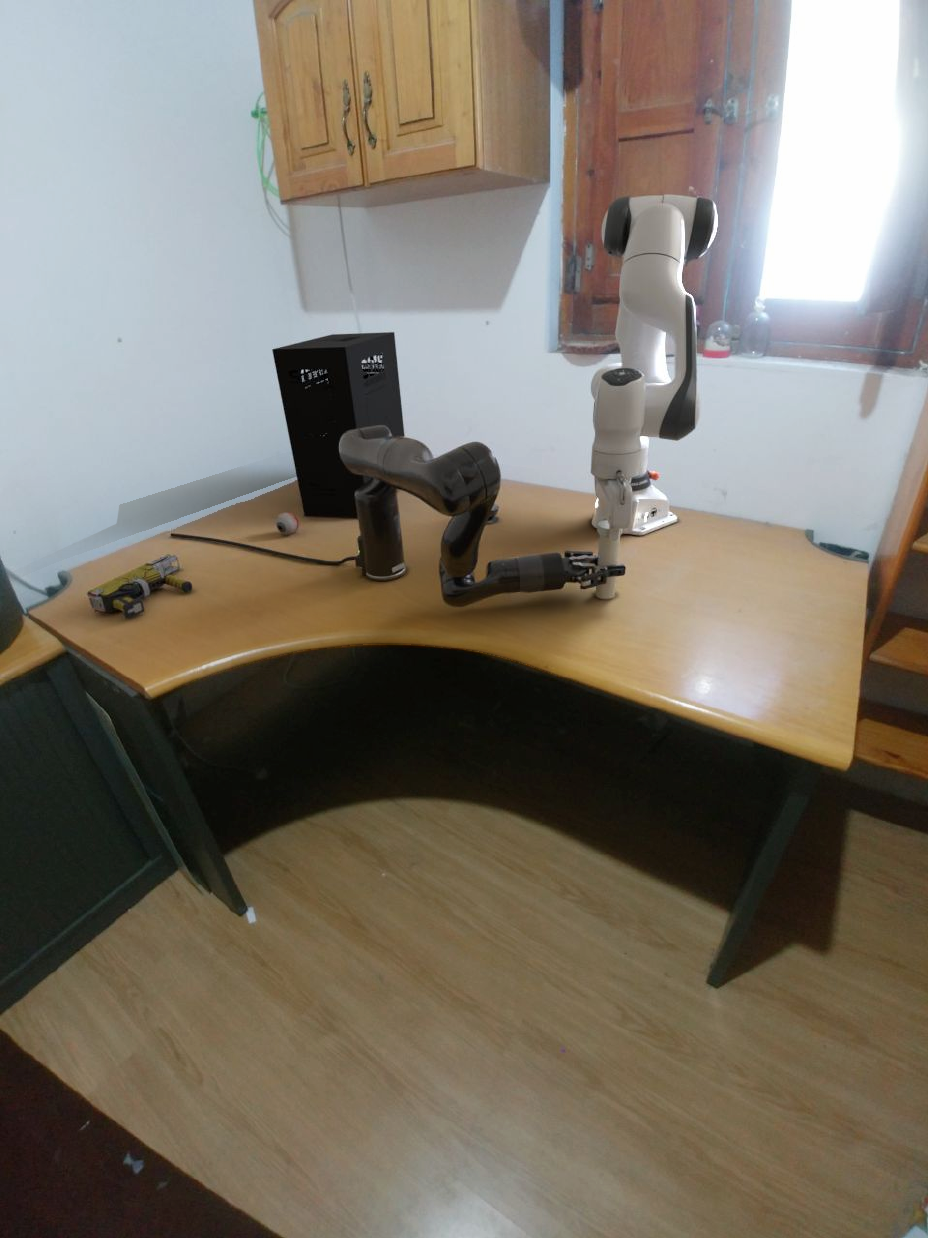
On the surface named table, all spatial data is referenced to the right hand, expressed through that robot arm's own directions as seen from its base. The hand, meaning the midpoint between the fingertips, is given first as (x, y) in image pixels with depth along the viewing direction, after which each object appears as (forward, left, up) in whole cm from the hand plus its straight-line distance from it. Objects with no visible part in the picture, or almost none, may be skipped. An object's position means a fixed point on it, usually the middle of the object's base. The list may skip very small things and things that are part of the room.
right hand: (609, 533), depth 119 cm
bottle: (0, 0, -14) cm, 14 cm away
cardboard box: (+26, -93, -14) cm, 97 cm away
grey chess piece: (+1, -52, -14) cm, 53 cm away
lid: (0, 0, +2) cm, 2 cm away
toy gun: (+86, -51, -14) cm, 101 cm away
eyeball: (+52, -71, -14) cm, 90 cm away
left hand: (-3, +1, -7) cm, 8 cm away
